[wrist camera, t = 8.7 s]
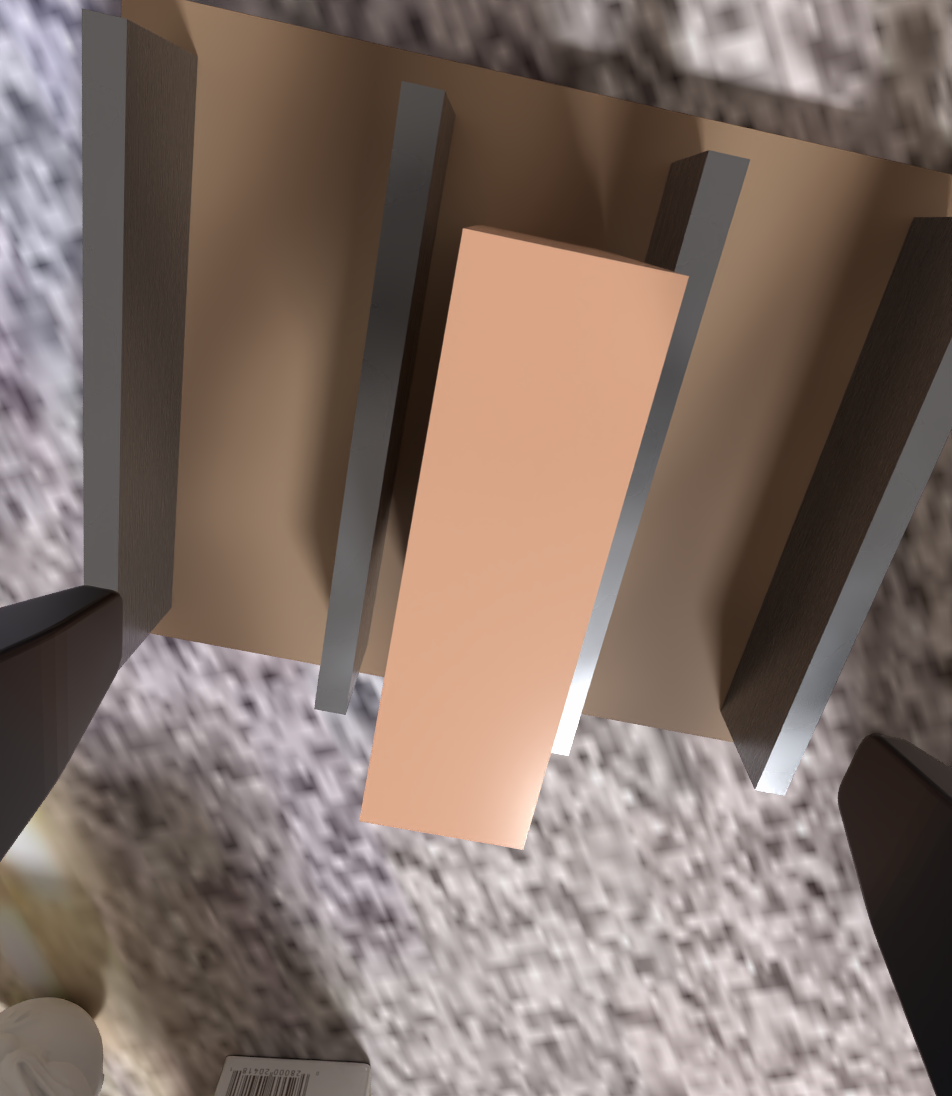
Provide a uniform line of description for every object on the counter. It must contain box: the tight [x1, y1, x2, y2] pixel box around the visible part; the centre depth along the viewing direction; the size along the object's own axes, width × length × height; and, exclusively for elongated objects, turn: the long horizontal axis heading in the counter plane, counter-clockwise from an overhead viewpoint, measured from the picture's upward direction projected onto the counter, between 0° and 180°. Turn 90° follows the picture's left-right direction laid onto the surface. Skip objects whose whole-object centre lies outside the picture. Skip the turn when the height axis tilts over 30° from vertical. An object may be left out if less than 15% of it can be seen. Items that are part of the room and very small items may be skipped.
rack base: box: [121, 0, 952, 742], centre depth 21 cm, size 20×16×1 cm
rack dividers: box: [82, 9, 952, 796], centre depth 19 cm, size 18×14×4 cm
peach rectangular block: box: [359, 224, 689, 850], centre depth 16 cm, size 3×10×9 cm, turn 169°
